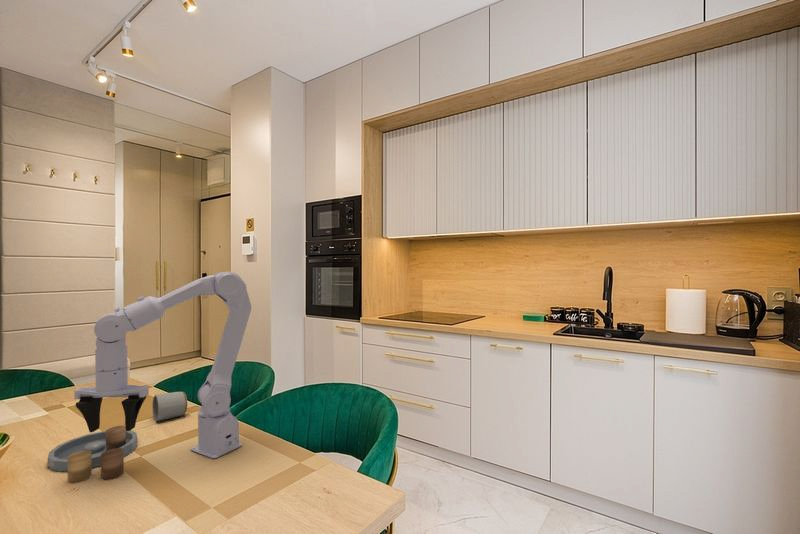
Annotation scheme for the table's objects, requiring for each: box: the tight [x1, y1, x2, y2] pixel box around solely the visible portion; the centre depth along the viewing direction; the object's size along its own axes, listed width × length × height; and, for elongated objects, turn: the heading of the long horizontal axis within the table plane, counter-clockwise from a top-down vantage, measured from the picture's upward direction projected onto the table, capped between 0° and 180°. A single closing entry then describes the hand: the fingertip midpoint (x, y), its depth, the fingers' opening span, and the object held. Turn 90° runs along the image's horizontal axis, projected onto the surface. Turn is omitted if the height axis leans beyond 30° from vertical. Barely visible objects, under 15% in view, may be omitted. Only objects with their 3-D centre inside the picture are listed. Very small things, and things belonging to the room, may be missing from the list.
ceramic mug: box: [152, 391, 188, 423], centre depth 120 cm, size 11×8×8 cm
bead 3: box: [100, 448, 125, 481], centre depth 86 cm, size 4×4×5 cm
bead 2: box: [105, 425, 126, 451], centre depth 96 cm, size 4×4×5 cm
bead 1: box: [67, 451, 93, 484], centre depth 85 cm, size 4×4×5 cm
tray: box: [47, 430, 139, 473], centre depth 96 cm, size 17×17×2 cm
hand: (112, 429), depth 87 cm, fingers open, 7 cm apart
